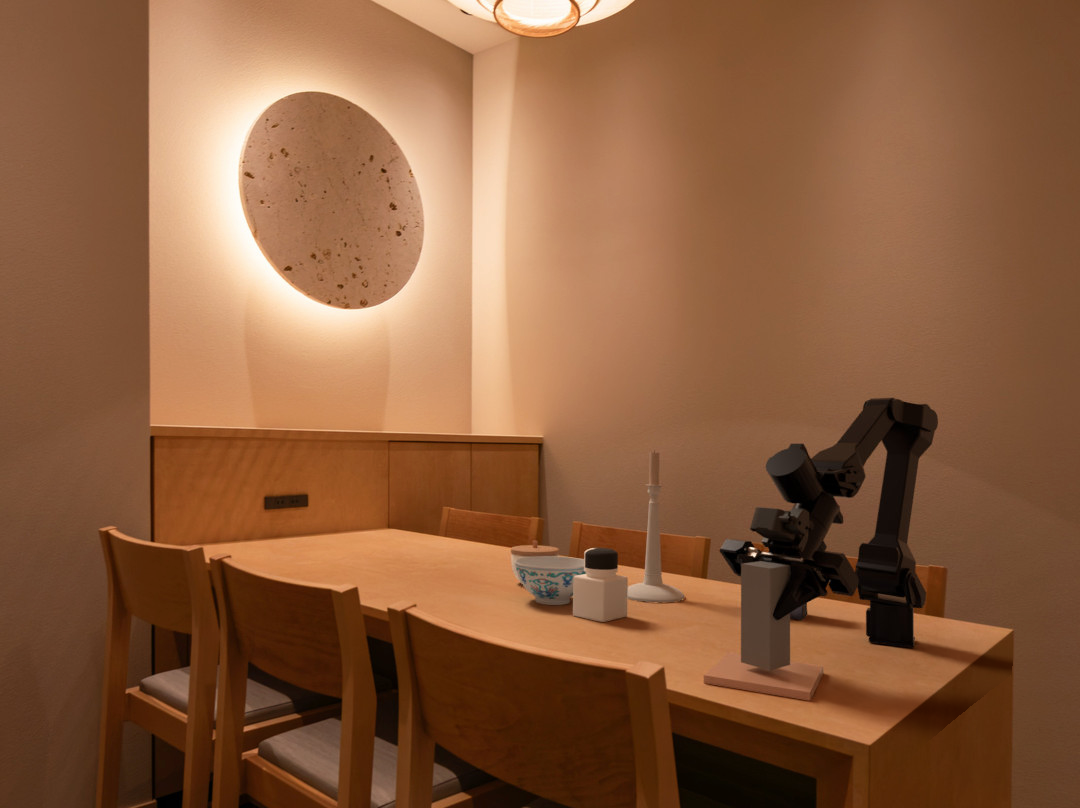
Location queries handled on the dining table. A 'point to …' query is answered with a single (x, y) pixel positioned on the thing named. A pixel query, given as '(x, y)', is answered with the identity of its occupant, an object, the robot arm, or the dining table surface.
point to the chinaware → (549, 577)
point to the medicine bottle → (600, 587)
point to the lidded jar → (530, 553)
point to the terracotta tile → (766, 677)
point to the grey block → (764, 615)
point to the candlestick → (653, 550)
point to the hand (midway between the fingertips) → (759, 614)
